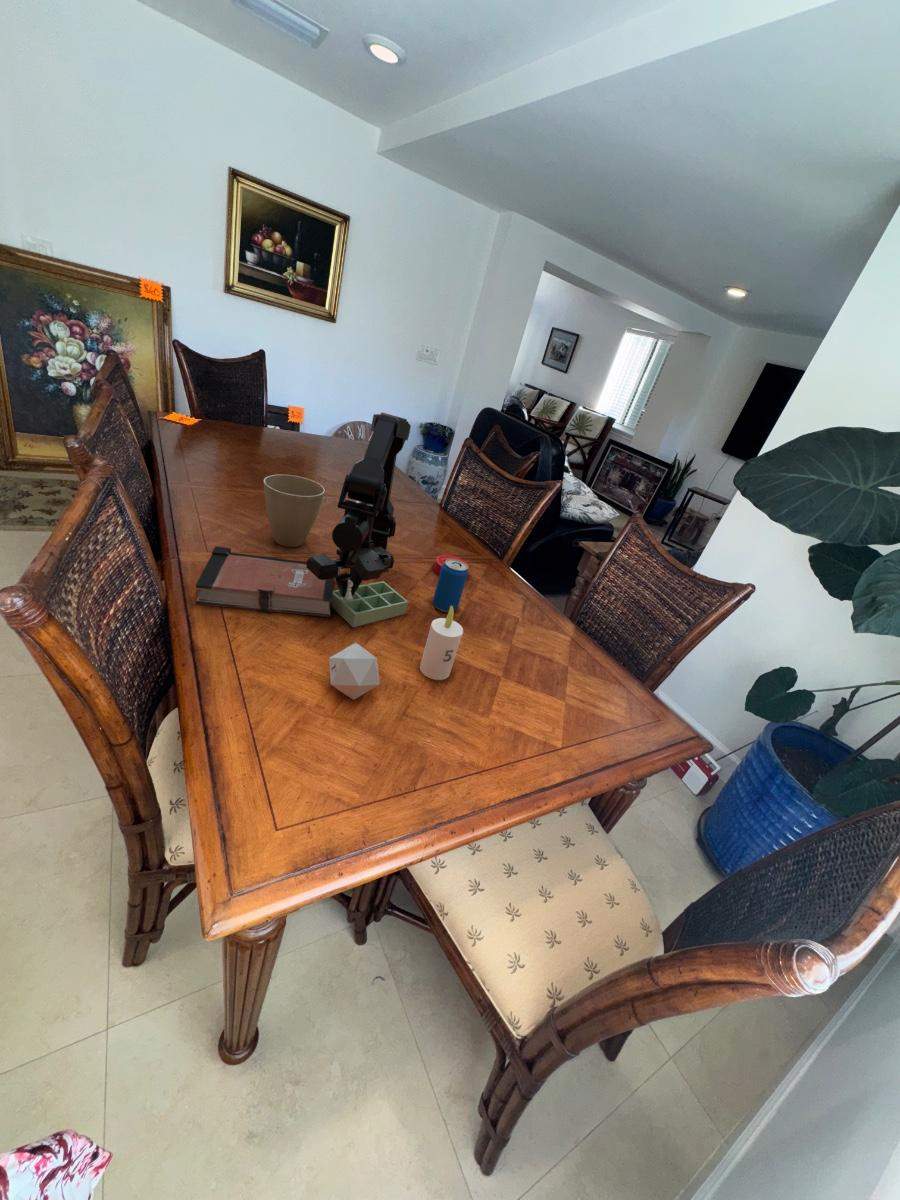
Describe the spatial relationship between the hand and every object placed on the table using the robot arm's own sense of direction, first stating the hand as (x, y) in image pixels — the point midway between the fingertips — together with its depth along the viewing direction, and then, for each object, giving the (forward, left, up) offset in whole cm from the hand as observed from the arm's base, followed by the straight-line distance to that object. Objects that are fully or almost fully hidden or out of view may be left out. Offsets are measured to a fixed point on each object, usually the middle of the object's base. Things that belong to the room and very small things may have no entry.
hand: (346, 595), depth 107 cm
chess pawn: (0, 0, -1) cm, 1 cm away
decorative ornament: (-6, +39, -3) cm, 39 cm away
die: (+23, -13, -3) cm, 27 cm away
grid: (+2, +5, -3) cm, 6 cm away
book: (-11, -12, -3) cm, 17 cm away
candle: (+26, +5, -3) cm, 27 cm away
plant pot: (-34, +4, -3) cm, 34 cm away
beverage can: (+8, +24, -3) cm, 25 cm away
